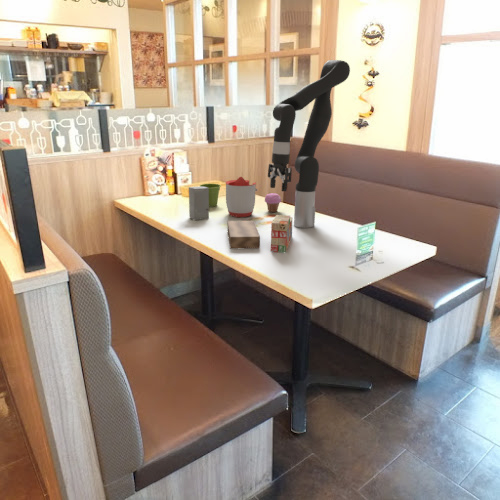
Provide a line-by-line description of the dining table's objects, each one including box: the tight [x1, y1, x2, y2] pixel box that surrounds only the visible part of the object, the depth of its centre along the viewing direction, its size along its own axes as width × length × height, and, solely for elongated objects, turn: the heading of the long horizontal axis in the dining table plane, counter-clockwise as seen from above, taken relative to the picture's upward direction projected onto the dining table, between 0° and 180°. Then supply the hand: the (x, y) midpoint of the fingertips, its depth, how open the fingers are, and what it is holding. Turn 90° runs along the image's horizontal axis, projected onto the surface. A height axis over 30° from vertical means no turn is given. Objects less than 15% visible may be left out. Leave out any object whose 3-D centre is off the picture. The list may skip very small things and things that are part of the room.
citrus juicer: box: [224, 176, 258, 218], centre depth 230 cm, size 16×17×20 cm
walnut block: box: [226, 220, 261, 250], centre depth 193 cm, size 12×24×5 cm, turn 6°
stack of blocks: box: [270, 214, 293, 253], centre depth 187 cm, size 21×6×12 cm, turn 168°
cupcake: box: [264, 192, 282, 213], centre depth 239 cm, size 9×9×10 cm
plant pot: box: [199, 183, 222, 207], centre depth 250 cm, size 12×12×11 cm
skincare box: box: [188, 185, 210, 221], centre depth 223 cm, size 8×7×16 cm
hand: (278, 189), depth 199 cm, fingers open, 8 cm apart
